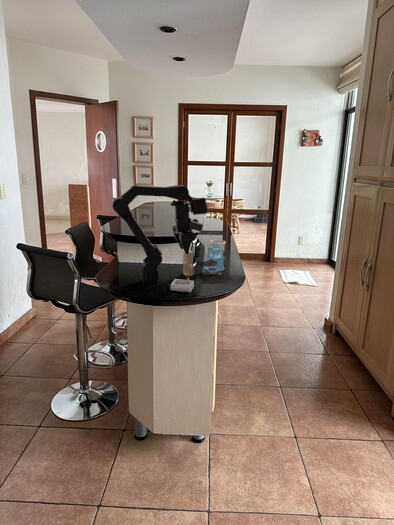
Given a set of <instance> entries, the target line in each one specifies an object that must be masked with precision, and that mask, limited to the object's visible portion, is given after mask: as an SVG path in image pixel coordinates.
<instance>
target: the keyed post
mask: <svg viewBox="0 0 394 525" xmlns="http://www.w3.org/2000/svg"><path fill="white" fill-rule="evenodd" d="M182 258H183V259H182V266H183V267H182V274H183V276H184V275H185V276H184V277H191V276H193V275H195V265H193V264H194V263H193V262H194V260H193V259H194V252H193V251H192V250H189V254H187V255H186V254H185V251H184V250H183V256H182Z"/></svg>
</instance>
